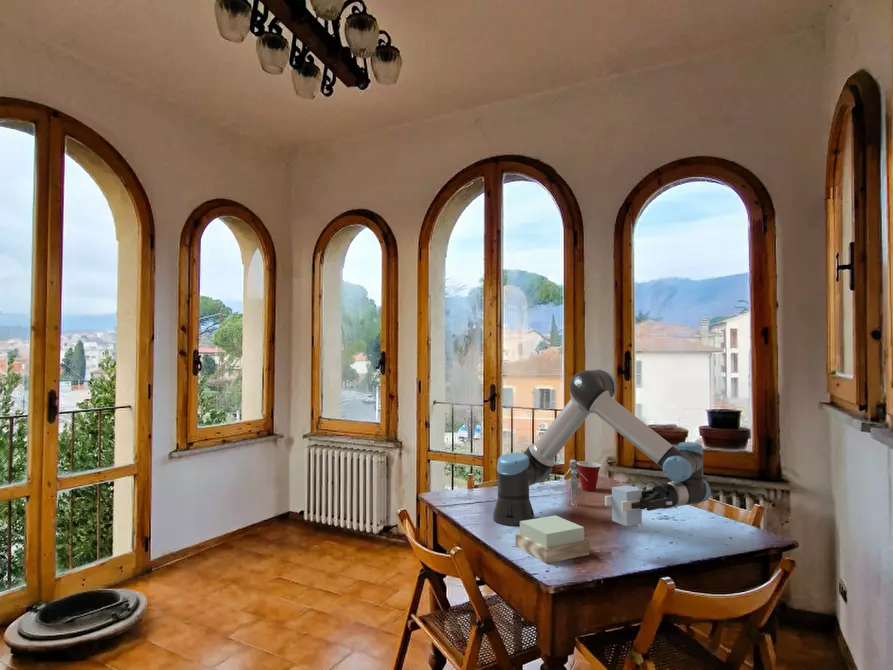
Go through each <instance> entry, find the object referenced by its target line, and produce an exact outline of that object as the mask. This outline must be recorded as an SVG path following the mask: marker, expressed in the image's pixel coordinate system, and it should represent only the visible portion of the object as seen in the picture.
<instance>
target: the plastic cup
mask: <svg viewBox="0 0 893 670" xmlns="http://www.w3.org/2000/svg"><path fill="white" fill-rule="evenodd" d="M576 466H577V469H578V470H579V472H580V473H581V474H583V476H584V477H585V478H586V479H587V480H588V481H587V480H586V479H585V478H584V477H582V476H581V475H580V474H579V480H580V484H581V489H582V491H584V490H585V492H595V491H596V489H597V483H598V479H599V472H600V470H601V467H602V464H600V463H598V462H594V461H584V460H583V461H580V460H579V461H576Z"/></svg>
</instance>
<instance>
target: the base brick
mask: <svg viewBox="0 0 893 670" xmlns="http://www.w3.org/2000/svg"><path fill="white" fill-rule="evenodd" d="M515 547H516V548H517V549H519V550H521V551H523V552H525V553H526V554H529V555H530V556H532V557H533V558H536V559H537V560H539V561H541V562H543V563H545V564H550V563H551V564H552V563H556V562H560V561H564V560H565V561H566V560H570V559H574V558H578V557H579V558H580V557H584V556H589V555H590V541H589V540H588V539H585V538H584V541H580V542H575V543H570V544H565V545H560V546H555V547H549V548H546V547H544V546H542V545H540V544H538V543H536V542H534V541H532V540H530V539H528V538H527V537H525V536H523V535H521V534H520V532H518V533H515Z"/></svg>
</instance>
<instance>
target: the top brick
mask: <svg viewBox="0 0 893 670" xmlns="http://www.w3.org/2000/svg"><path fill="white" fill-rule="evenodd" d="M519 533H520V534H521V535H523V536H525V537H527V538H528V539H530V540H532V541H534V542H536V543H538V544H540V545H542V546H544V547H546V548H549V547H555V546H560V545H565V544H570V543H575V542H580V541H584V539H585V527H584V526H582V525H579V524H578V523H574V522H573V521H570V520H567V519H565V518H562V517H560V516H558V515H549V516H543V517H539V518H534V519H530V520H524V521H520V525H519Z"/></svg>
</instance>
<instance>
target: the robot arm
mask: <svg viewBox="0 0 893 670" xmlns="http://www.w3.org/2000/svg"><path fill="white" fill-rule="evenodd" d="M569 392H570V393H569V394H570V399H569V401H568V402H567V403H566V405H565V406H564V407H563V408H562V409H561V411H560V412H559V413H558V415H557V416H556V417H555V418H554V420H553V421H552V423H550V425H549V427H548V428H547V429H546V430H545V431H544V433H543V434H542V435H541V437H540V438H539V439H538V441H537V442H536V443H531V444H529V446H528V447H527V448H526V450H525V451H524V452H523V453H521V452H511V453H504V454H502V455H501V456H499V457H498V459H497V465H496V473H497V476H496V477H497V478H496V479H497V480H496V481H497V499H496V503H495V506H494V510H493V512H492V519H493V521H494V522H496V523H497V524H501V525H505V526H520V521H524V520H530V519H535V513H534V509H533V505H532V504H531V500H530V486H532V485H536V484H539V483H542V482H543V481H545V480H546V479H547V478H548V477H549V476H550V475H551V473H552V469H553V466H554V465H555V463H556V461H555V457H556V456H557V455H558V454H559V452H560V451H561V450H562V449H563V447H564V446H565V445H566V444H567V443H568V441H569V440H570V439H571V438H572V436H573V435H574V434H575V433H576V432H577V431H578V429H579V428H580V426H582V424H583V423H584V421H585V420H586V419H587V418H588V416H590V414H596V415H597V416H598V417H599V418H600V419H602V420H603V421H604V422H605V423H606V424H608V425H609V427H611V428H612V429H614V430H615V431H616V432H617V433H618V434H620V435H621V436H622V437H623V438H624V439H626V440H627V441H628V442H630V443H631V444H632V445H633V446H635V448H637V449H638V450H639V451H641V452H642V453H643V454H644V455H645V456H647V457H648V458H649V459H650V460H651V461H653V462H654V463H655V464H656V465H657V466H659V467H660V468H661V469H662V473H663V474H664V476H665V477H666V478H667V479H668V480H670V481H669V482H663V483H657V484H655V485H654V486H653V487H652V489H647V490H646V491H642V498H640V502H639V499H635V500H629V501H622V502H621V511H622V512H624V511H630V510H636V509H639V508H640V509H642V510H645V509H646V511H647V512H648V511H649V512H650V511H655V510H660V509H661V510H665V509H672V508H675V509H677V508H678V507H682V506H688V505H694V504H695V505H697V504H700V503H704V502H706V501H708V500H709V499H710V497H711V496H712V489H711V487H710V484H709V483H708V482H707V480H705V479H704V456H705V455H704V450H703V445H702V444H701V443H698V442H691V441H682V442H679V443H678V445H677V448H676V447H675V446H674V445H672V444H671V443H670V442H668V440H666V438H663V437H662V436H661V435H660V434H659V433H657V432H656V431H654V429H652V428H651V427H649V425H647V424H646V423H645V422H643V421H642V420H641V419H640V418H638V417H637V416H636V415H634V414H633V413H632V412H631V411H630V410H628V409H627V408H626V407H625V406H623V405H622V404H620V403H619V402H618V401H617V400H616V399H614V396H615V394H616V392H617V382H616V380H615V378H614V377H613V375H612V374H611V373H610V372H608V371H606V370H602V369H599V368H598V369H591V370H588V369H587V370H581V371H579V372H577V373H575V375H574V374H573V376H572V378H571V379H570V382H569ZM637 489H640V490H642V488H640V487H638V488H637ZM604 506H606V507H607V506H612V494H611V495H604Z"/></svg>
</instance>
